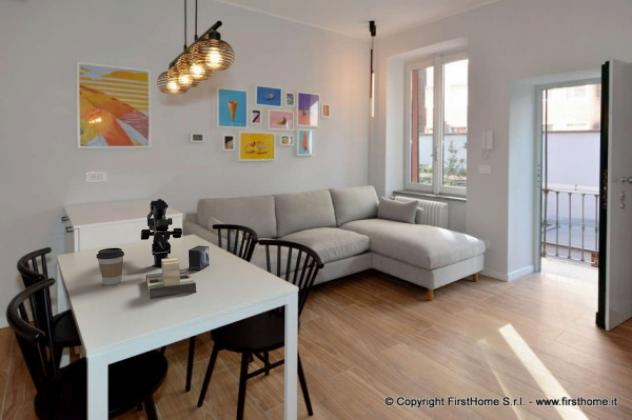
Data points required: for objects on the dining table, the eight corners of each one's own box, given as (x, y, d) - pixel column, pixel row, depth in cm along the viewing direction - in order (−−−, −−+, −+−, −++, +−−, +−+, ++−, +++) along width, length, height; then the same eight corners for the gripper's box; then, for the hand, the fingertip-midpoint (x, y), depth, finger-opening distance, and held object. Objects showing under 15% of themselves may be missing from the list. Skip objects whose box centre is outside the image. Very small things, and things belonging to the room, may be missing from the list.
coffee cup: (132, 280, 185) (130, 248, 183) (112, 288, 174) (109, 254, 172) (112, 277, 188) (110, 246, 186) (92, 285, 178) (89, 252, 176)
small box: (200, 271, 199) (199, 250, 198) (188, 270, 200) (187, 249, 199) (210, 265, 209) (209, 245, 208) (198, 264, 211) (197, 245, 209)
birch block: (162, 281, 174) (161, 258, 172) (177, 279, 176) (176, 257, 175) (165, 287, 166) (163, 264, 164) (180, 285, 168) (179, 262, 167)
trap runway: (145, 281, 184) (145, 272, 183) (186, 275, 191) (186, 267, 191) (150, 298, 161) (149, 289, 161) (196, 292, 169) (195, 282, 169)
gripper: (141, 212, 190) (144, 240, 182) (182, 211, 199) (186, 238, 192) (139, 225, 198) (142, 253, 190) (178, 224, 207) (182, 250, 199)
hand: (163, 248), depth 193 cm, fingers closed
